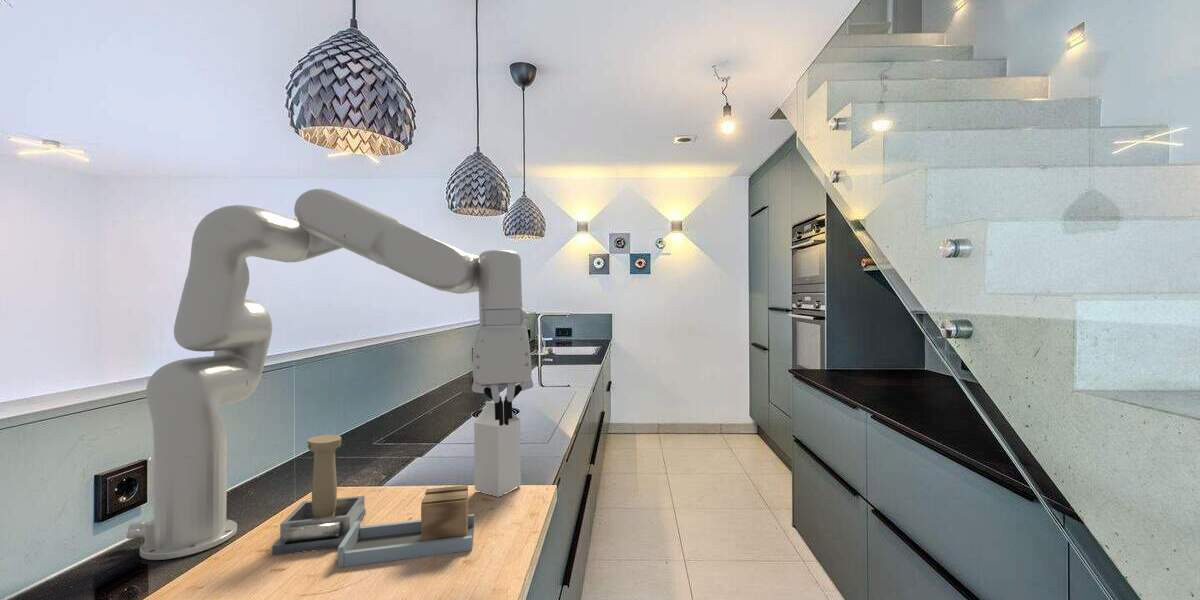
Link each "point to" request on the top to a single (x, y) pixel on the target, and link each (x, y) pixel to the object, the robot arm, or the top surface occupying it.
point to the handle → (324, 474)
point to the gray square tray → (318, 527)
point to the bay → (396, 543)
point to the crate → (444, 513)
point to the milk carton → (496, 453)
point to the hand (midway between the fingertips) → (503, 423)
